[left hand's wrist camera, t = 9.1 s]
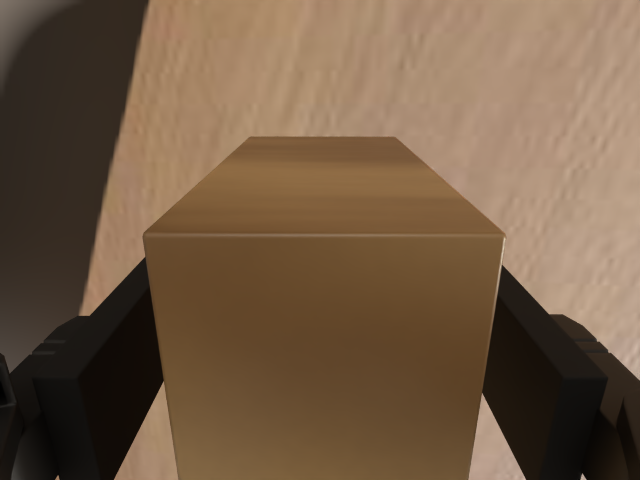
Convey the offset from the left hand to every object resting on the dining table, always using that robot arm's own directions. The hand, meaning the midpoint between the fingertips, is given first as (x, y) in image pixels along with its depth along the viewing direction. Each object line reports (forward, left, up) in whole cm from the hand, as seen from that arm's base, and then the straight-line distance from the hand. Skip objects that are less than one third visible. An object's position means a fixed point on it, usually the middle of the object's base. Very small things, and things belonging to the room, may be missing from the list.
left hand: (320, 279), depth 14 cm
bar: (+8, +4, -1) cm, 9 cm away
